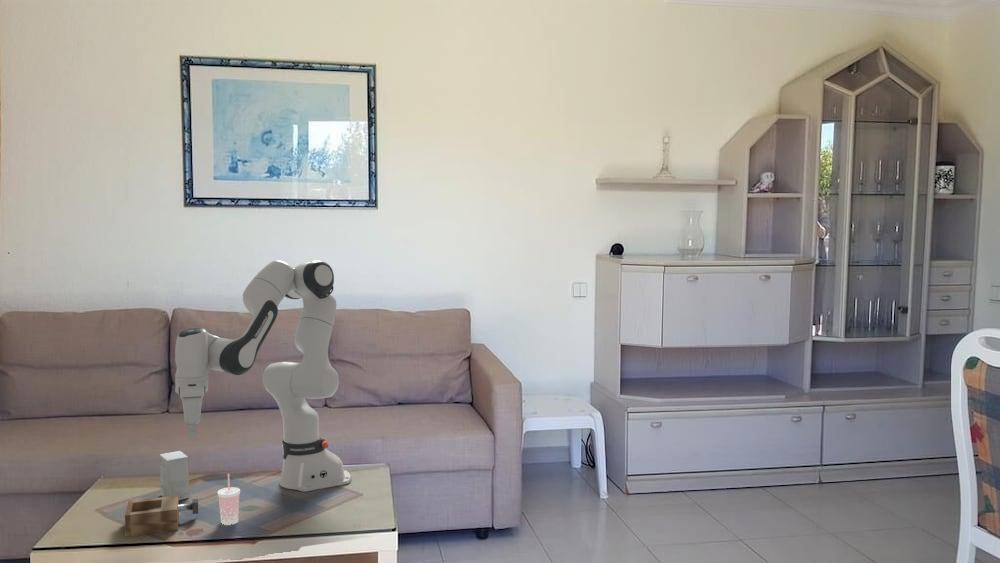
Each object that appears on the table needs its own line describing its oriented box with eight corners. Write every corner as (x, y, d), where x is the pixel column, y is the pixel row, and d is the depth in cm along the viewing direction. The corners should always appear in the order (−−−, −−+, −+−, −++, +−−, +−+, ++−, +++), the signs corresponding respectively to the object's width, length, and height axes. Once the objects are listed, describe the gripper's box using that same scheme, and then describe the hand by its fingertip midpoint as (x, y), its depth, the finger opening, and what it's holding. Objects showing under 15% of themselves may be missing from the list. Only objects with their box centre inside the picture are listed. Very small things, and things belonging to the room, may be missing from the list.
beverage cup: (242, 523, 220) (241, 475, 219) (219, 527, 217) (218, 478, 216) (239, 516, 225) (238, 468, 224) (216, 519, 223) (215, 471, 221)
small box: (190, 498, 239) (188, 456, 238) (168, 503, 235) (167, 460, 234) (181, 490, 245) (180, 450, 244) (160, 495, 241) (158, 454, 240)
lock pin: (198, 509, 225) (198, 498, 225) (198, 513, 222) (198, 502, 222) (149, 515, 221) (149, 504, 221) (149, 519, 218) (148, 508, 218)
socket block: (179, 515, 225) (178, 495, 225) (177, 530, 215) (177, 509, 215) (129, 521, 221) (128, 501, 220) (125, 537, 211) (124, 515, 210)
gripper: (180, 379, 233) (180, 425, 234) (179, 392, 214) (180, 442, 215) (203, 378, 235) (203, 424, 236) (204, 391, 216) (204, 441, 217)
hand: (192, 433), depth 225 cm, fingers open, 8 cm apart
